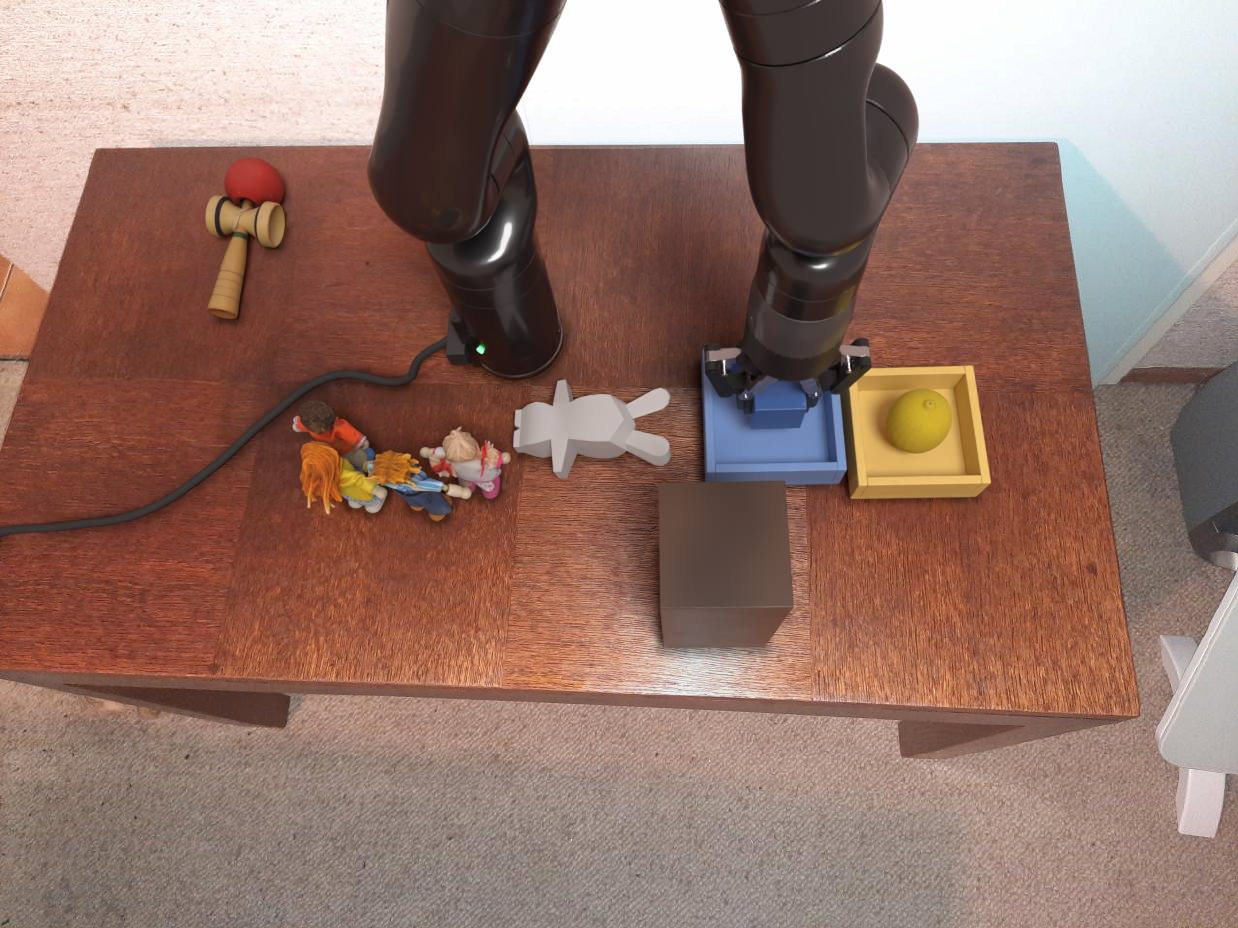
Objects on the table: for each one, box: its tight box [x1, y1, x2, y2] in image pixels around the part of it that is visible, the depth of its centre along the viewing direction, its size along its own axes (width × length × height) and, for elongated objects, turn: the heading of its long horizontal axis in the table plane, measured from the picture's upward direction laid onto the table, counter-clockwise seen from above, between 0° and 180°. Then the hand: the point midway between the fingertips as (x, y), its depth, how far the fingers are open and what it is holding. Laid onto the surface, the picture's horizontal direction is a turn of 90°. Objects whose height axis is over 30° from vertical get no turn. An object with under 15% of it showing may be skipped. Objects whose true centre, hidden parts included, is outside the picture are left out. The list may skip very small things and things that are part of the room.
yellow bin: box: [840, 365, 992, 500], centre depth 80 cm, size 12×12×4 cm
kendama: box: [204, 156, 286, 320], centre depth 92 cm, size 8×6×18 cm
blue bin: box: [700, 347, 847, 486], centre depth 82 cm, size 13×13×4 cm
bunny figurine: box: [512, 378, 672, 480], centre depth 82 cm, size 10×5×15 cm
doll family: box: [292, 399, 512, 522], centre depth 77 cm, size 21×10×13 cm, turn 77°
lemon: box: [886, 388, 952, 454], centre depth 78 cm, size 6×6×8 cm
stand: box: [657, 481, 795, 649], centre depth 69 cm, size 9×9×20 cm
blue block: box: [750, 381, 807, 429], centre depth 77 cm, size 4×4×4 cm
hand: (774, 403), depth 79 cm, fingers closed on blue block, 4 cm apart
